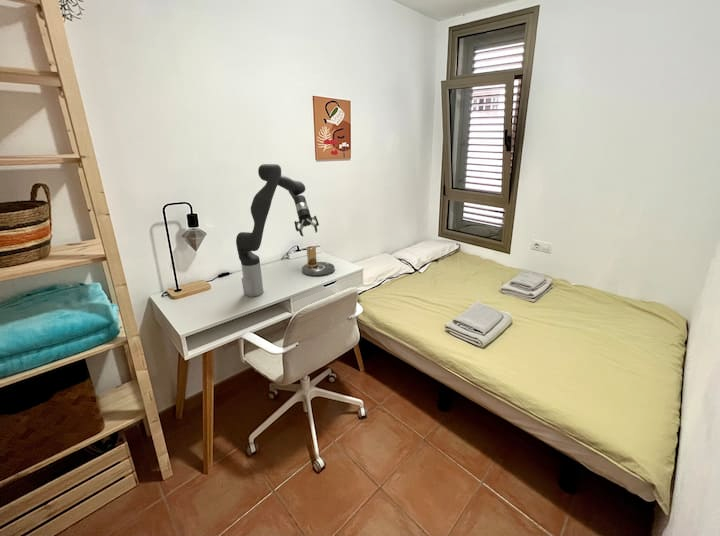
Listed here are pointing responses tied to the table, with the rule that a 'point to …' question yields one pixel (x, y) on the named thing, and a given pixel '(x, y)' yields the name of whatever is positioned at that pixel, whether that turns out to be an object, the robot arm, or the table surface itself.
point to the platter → (318, 269)
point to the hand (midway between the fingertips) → (309, 234)
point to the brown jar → (311, 257)
